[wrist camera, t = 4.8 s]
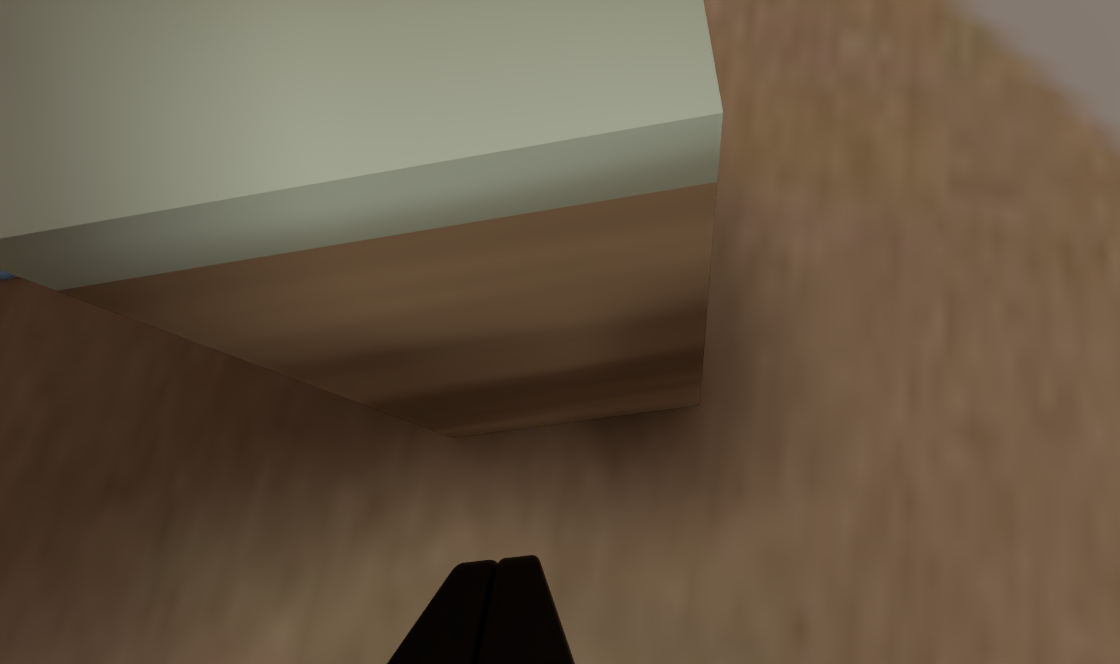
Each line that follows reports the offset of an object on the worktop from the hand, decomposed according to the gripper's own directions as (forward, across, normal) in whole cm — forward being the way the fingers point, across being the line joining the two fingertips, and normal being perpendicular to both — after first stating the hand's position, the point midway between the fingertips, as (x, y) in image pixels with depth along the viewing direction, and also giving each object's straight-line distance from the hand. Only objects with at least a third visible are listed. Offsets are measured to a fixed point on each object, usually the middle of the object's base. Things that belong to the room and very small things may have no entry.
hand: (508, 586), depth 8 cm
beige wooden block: (+9, 0, +2) cm, 9 cm away
